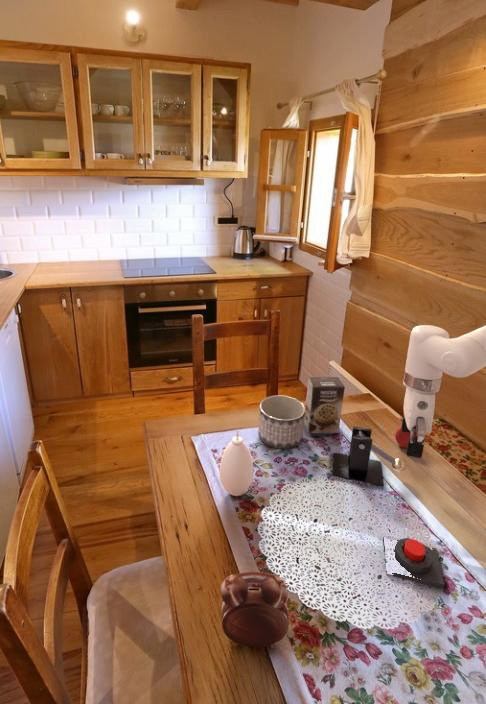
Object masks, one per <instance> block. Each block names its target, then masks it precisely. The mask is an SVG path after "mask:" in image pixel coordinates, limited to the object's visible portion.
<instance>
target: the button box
mask: <svg viewBox="0 0 486 704" xmlns="http://www.w3.org/2000/svg"><path fill="white" fill-rule="evenodd" d="M407 540H416V541H418V542H420V541H419V540H417V539H415V538H409V537H405V538H400V539H397V541H398V542H397V544H396V546H395V550H394V552H395V558H396V560H397V561H398V562H399V563H400V565H401V566H402V567H404V568H405V569H406V570H407V571H408V572H410V573H411V574H410V575H412V577H409V576H405V575H401V574H397V573H392V574H394V575H393V576H392V577H394V578H399V579H401V580H406V581H410V582H414V583H417V584H422V585H425V586H430V587H433V588H437V589H442V590H444V588H445V581H444V576H443V573H442V568H441V564H440V559H439V554H438V551H437V550H438V549H437V548H435V547H431V548H432V549H433V550H431V549H430V548H429V547H430V546H426V544H424V543H422V542H420V543H421V544H422V545H423V546H424V548H425V555H424V559H423V560H422V561H421V562H414V561H412V560H410V559H409V558H407V557H406V555H405V554H404V546H405V542H406V541H407ZM382 544H383V545H382V546H383V553H384V552H385V546H384V537H383V539H382ZM413 576H414V577H415V578H413ZM417 578H418V579H417ZM420 579H421V580H420Z"/></svg>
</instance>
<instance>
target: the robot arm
mask: <svg viewBox="0 0 486 704" xmlns="http://www.w3.org/2000/svg"><path fill="white" fill-rule="evenodd" d="M485 367H486V325H483V326H482V327H478V328H477V329H475V330H473V331H470V332H467V333H465V334H462V335H460V336H458V337H453V338H450V334H449V332H448V331H447V330H445V329H444V328H442V327H439V326H436V325H429V324H422V325H417V326H415V327H413V328H412V330H411V332H410V336H409V342H408V348H407V355H406V360H405V368H404V373H403V380H402V384H403V386H405V394H404V400H403V416H402V422H401V426H402V427H401V426H400V427H401V431H402V432H408V433H410V440H408V445H407V448H406V451H405V454H406V456H407V457H411V458H417V459H421V458H422V457H423V453H424V447H425V442H426V441H425V438H426V434H431V433H432V431H433V429H432V428H433V423H434V417H435V416H434V415H435V407H436V393H438V392H439V391H440V389H441V383H442V379H443V374H446V375H448V376H450V377H452V378H457V379H460V378H461V379H463V378H468V377H470V376H472V375H473V374H475V373H476V372H479V371H480V370H482V369H484V368H485ZM415 432H417V436H415V437H414V433H415Z"/></svg>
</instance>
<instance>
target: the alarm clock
mask: <svg viewBox="0 0 486 704" xmlns="http://www.w3.org/2000/svg"><path fill="white" fill-rule="evenodd" d="M247 576H249V577H247ZM250 576H259V577H250ZM243 577H247V578H243ZM261 577H264V578H261ZM220 596H221V598H222V603H221V612H220V613H221V615H220V616H221V628H222V631H223V633H224V634H225V636H226V637H227V638H228V639H229V641H230V640H231V641H232V642H234V643H233V645H234V647H236V646H238V645H240V646H242V647H249V648H265V647H269V646H270V647H271V648H274V645H275V644H277V643H278V642H280V641H282V640H283V639H284V638H285V636H286V635H287V633H288V630H289V609H288V604H287V600H288V597H289V589H288V586H287V584H286V582H285V581H284V579H282V577H280V576H278V575H276V574H272V573H269V572H264V571H245V572H239V573H237V574H234V573H233V574H230V575H228V576H226V578H224V579H223V581H222V583H221V584H220Z"/></svg>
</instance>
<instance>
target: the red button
mask: <svg viewBox="0 0 486 704" xmlns="http://www.w3.org/2000/svg"><path fill="white" fill-rule="evenodd" d="M416 540H417V539H414V540H407V541H406V542H405V546H404V554H405V555H406V557H407V558H409V559H410V560H412V561H414V562H421V561H422V560H423V559H424V555H425V548H424V546H423V545H424V544H423V543H422V542H420V541H419V540H417V541H416ZM418 541H419V542H418ZM421 543H422V544H423V545H422V544H421Z"/></svg>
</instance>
